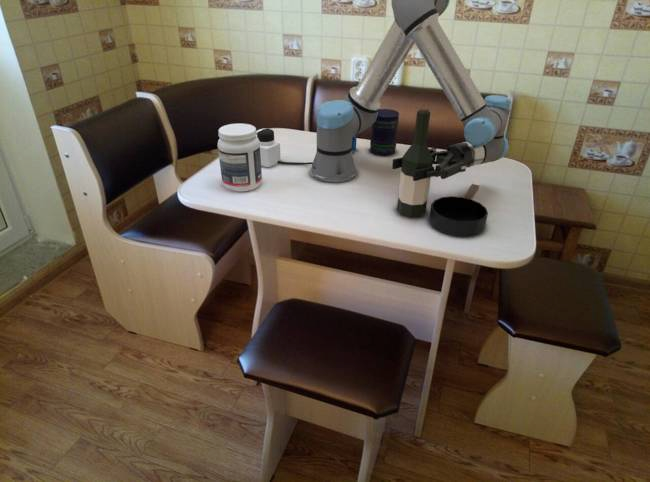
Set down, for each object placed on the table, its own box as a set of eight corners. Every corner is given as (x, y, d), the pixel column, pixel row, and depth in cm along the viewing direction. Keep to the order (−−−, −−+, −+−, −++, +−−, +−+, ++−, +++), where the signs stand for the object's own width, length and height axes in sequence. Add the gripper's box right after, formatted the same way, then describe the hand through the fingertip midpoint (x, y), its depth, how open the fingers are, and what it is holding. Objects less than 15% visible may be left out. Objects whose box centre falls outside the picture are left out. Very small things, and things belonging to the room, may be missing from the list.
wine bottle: (425, 219, 128) (440, 114, 112) (395, 216, 130) (407, 112, 114) (425, 206, 135) (440, 105, 119) (397, 203, 137) (408, 103, 121)
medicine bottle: (281, 161, 163) (279, 129, 157) (268, 168, 158) (266, 134, 152) (265, 157, 166) (263, 125, 160) (252, 163, 161) (250, 130, 155)
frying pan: (476, 242, 118) (480, 227, 116) (421, 227, 125) (423, 213, 122) (497, 203, 138) (501, 189, 135) (449, 192, 144) (451, 178, 141)
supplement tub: (245, 173, 154) (241, 119, 145) (270, 184, 147) (267, 129, 137) (214, 184, 146) (207, 128, 137) (238, 197, 139) (233, 139, 129)
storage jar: (365, 153, 171) (368, 114, 163) (374, 145, 179) (377, 107, 171) (391, 158, 168) (395, 118, 160) (398, 149, 175) (402, 111, 167)
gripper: (489, 180, 127) (427, 197, 117) (437, 155, 143) (379, 169, 133) (494, 154, 123) (431, 170, 113) (441, 132, 139) (381, 144, 129)
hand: (403, 170), depth 123 cm, fingers closed on wine bottle, 8 cm apart
